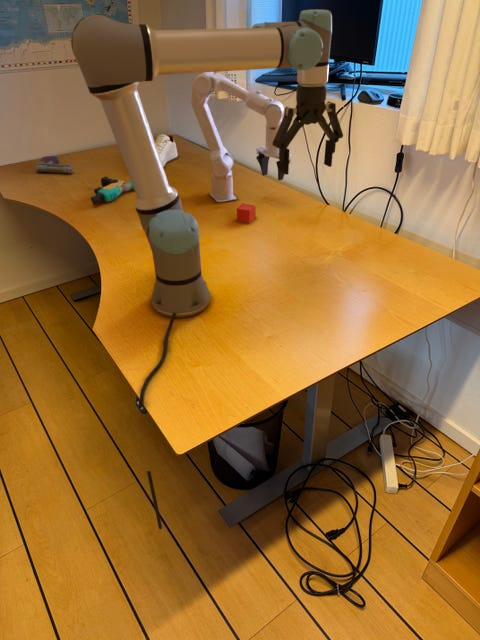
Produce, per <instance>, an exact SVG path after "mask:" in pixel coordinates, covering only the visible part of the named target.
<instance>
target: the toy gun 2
mask: <svg viewBox="0 0 480 640" xmlns="http://www.w3.org/2000/svg"><path fill="white" fill-rule="evenodd" d="M100 184H101V187H100V186H98V187H96V188H94V189H93V192H94V194H95V195H93V196H91V197H90V200H91V203H92V205H93V206H95V205H96V204H99V203H100V202H103V201H104V202H106V203H107V202H112V201H113V200H115V199H117V198H118V197H119V196H120V195H121V194H122V193H126V192H128V191H130V190H132V191H135V189H134V187H133V184H132V181H131V180H130V181H129V182H125V181H124V180H121V179H112V178H109V177H108V176H103V177H101V179H100Z"/></svg>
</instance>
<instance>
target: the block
mask: <svg viewBox="0 0 480 640" xmlns="http://www.w3.org/2000/svg"><path fill="white" fill-rule="evenodd" d="M255 219H256V205H255V204H248V203H243V202H242V204H240V205H239V206H238V207H237V208H236V222H239V223H243V224H250V223H252V222H253V221H254V220H255Z"/></svg>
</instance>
